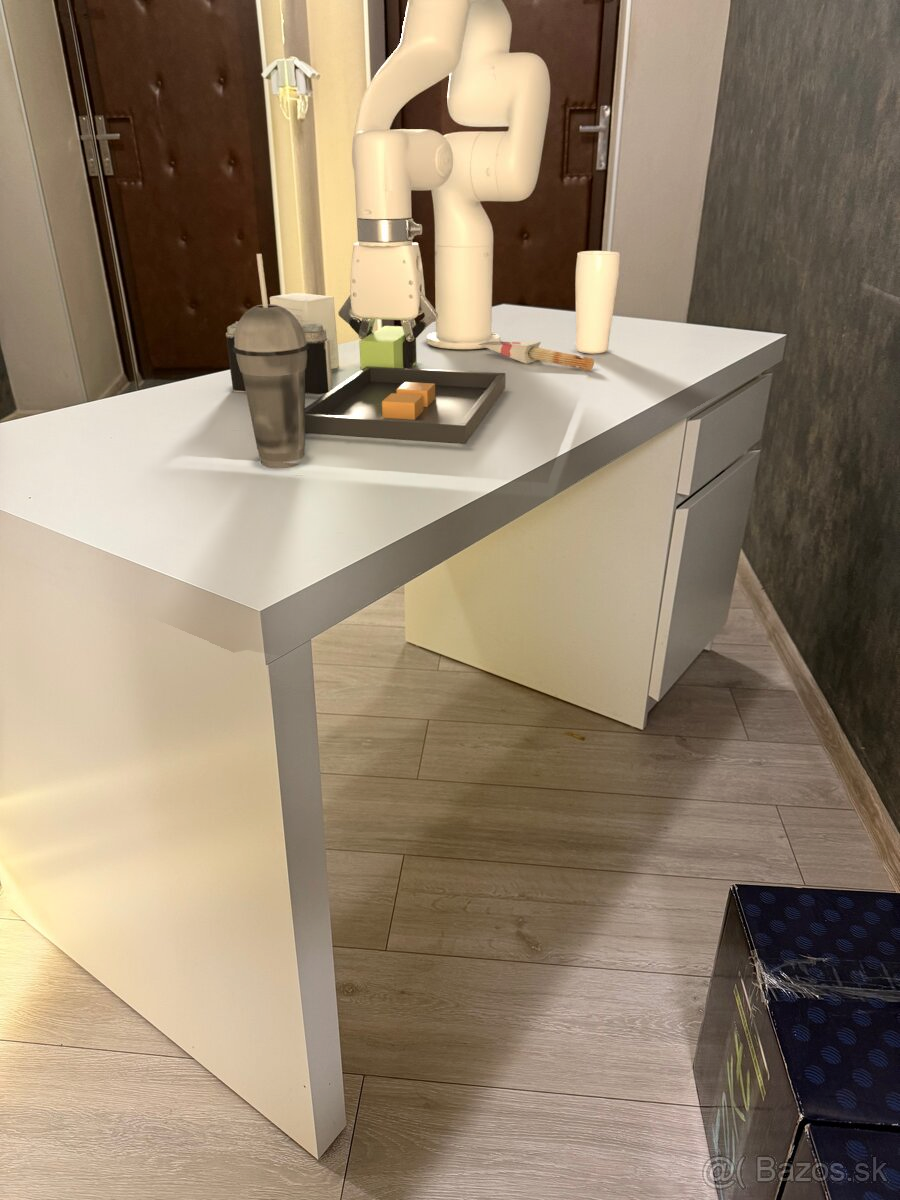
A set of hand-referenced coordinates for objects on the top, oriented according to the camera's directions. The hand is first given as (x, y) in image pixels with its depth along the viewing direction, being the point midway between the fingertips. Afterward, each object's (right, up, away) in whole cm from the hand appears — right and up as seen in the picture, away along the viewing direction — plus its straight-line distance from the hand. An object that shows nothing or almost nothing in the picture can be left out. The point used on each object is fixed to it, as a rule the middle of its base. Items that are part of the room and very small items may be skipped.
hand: (389, 365), depth 123 cm
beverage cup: (-9, -20, -36) cm, 42 cm away
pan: (+4, -11, -20) cm, 23 cm away
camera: (-14, -7, -11) cm, 20 cm away
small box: (-12, 0, +2) cm, 13 cm away
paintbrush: (+22, +2, +7) cm, 23 cm away
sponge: (0, -1, 0) cm, 1 cm away
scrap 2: (+5, -10, -17) cm, 20 cm away
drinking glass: (+32, +6, +14) cm, 36 cm away
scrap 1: (+3, -12, -22) cm, 26 cm away
